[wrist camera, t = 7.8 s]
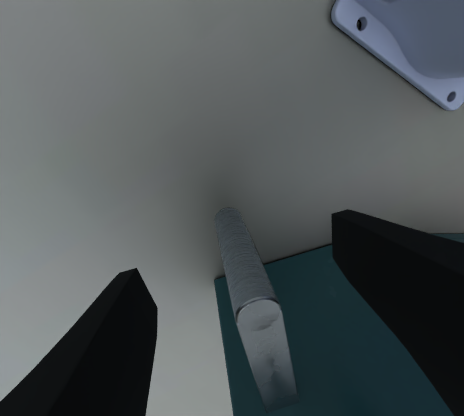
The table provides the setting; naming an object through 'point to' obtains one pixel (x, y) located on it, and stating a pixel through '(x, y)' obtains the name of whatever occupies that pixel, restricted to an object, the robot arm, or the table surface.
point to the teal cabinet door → (308, 338)
